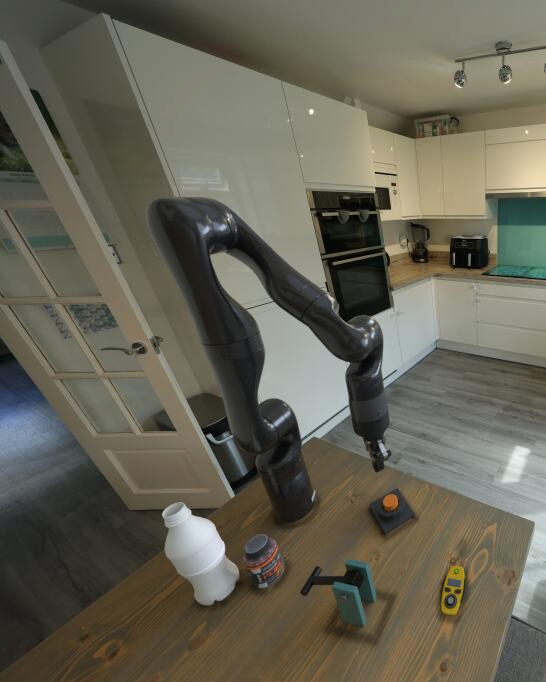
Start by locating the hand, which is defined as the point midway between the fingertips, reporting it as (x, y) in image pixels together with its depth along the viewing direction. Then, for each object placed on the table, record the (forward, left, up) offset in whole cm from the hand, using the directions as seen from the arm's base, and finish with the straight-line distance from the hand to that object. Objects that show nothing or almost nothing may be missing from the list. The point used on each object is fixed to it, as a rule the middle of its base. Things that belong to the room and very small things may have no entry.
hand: (379, 469), depth 73 cm
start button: (0, +1, -14) cm, 14 cm away
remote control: (+22, +6, -18) cm, 29 cm away
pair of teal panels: (+16, -13, -17) cm, 27 cm away
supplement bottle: (-3, -26, -18) cm, 31 cm away
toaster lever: (+13, -15, -9) cm, 22 cm away
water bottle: (-7, -34, -18) cm, 39 cm away
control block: (0, +1, -17) cm, 17 cm away
